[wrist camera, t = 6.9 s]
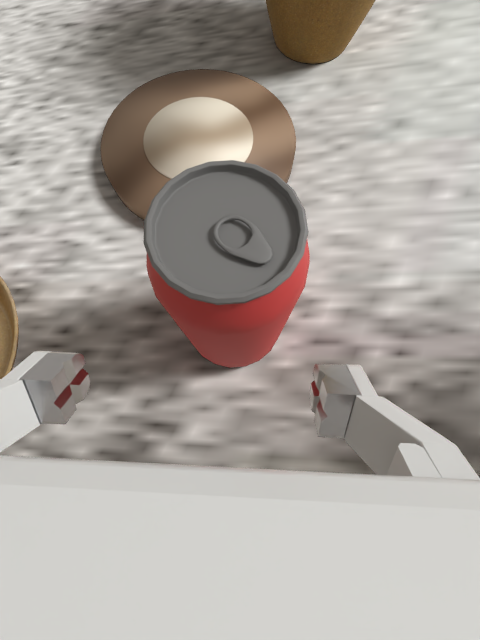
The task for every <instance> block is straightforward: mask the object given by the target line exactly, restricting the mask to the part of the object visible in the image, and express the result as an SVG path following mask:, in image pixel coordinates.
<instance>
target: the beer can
mask: <svg viewBox="0 0 480 640" xmlns="http://www.w3.org/2000/svg"><path fill="white" fill-rule="evenodd" d="M307 236H308V227H307V220H306V214H305V209H304V207H303V206H302V204H301V202H300V200H299V198H298V197H297V195H296V193H295V191H294V190H293V189H292V188H291V187H290V186H289V185H288V184H287V183H286V182H284V181H283V180H282V179H281V178H280V177H279V176H278V175H277V174H275V173H272V172H270V171H268V170H266V169H264V168H262V167H260V166H258V165H256V164H251V163H246V162H240V161H235V160H226V161H211V162H206V163H203V164H200V165H197V166H194V167H191V168H188V169H186V170H184V171H183V172H181V173H180V174H178V175H177V176H175V177H174V178H172V179H171V180H169V181H168V182H167V183H166V184H165V185H164V186H163V187H162V189H161V190H160V191H159V192H158V193H157V195H156V196H155V197H154V198H153V199H152V202H151V204H150V207H149V209H148V212H147V215H146V217H145V220H144V245H145V248H146V251H147V271H148V275H149V278H150V281H151V284H152V287H153V290H154V292H155V295H156V297H157V299H158V300H159V301H160V303H161V304H162V305H163V307H164V308H165V309H166V310H167V312H168V313H169V314H170V316H171V317H172V318H173V320H174V321H175V322H176V323H177V325H178V326H179V327H180V329H181V330H182V331H183V333H184V334H185V335H186V336H187V338H188V339H189V340H190V342H191V343H192V344H193V346H194V347H195V348H196V349H197V350H198V352H199V353H200V354H201V355H202V356H203V357H204V358H206V359H208V360H209V361H211V362H212V363H214V364H217V365H221V366H225V367H229V368H231V367H244V366H247V365H250V364H252V363H254V362H257V361H259V360H260V359H261V358H263V357H264V356H265V355H266V354H267V353H268V352H270V351H271V349H272V347H273V346H274V344H275V342H276V341H277V339H278V337H279V335H280V333H281V331H282V329H283V327H284V325H285V324H286V322H287V320H288V318H289V316H290V314H291V312H292V310H293V308H294V306H295V304H296V302H297V300H298V298H299V297H300V295H301V293H302V291H303V289H304V287H305V283H306V278H307V273H308V268H309V248H308V242H307Z"/></svg>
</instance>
